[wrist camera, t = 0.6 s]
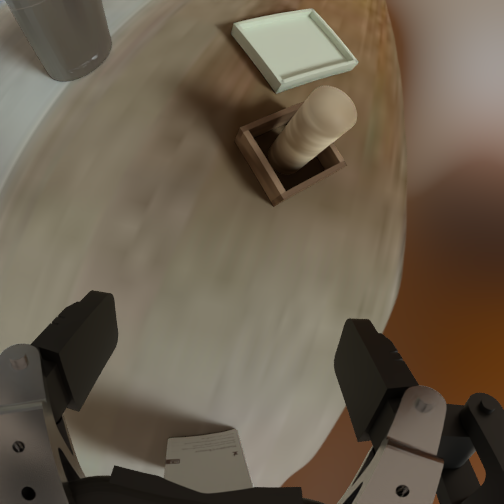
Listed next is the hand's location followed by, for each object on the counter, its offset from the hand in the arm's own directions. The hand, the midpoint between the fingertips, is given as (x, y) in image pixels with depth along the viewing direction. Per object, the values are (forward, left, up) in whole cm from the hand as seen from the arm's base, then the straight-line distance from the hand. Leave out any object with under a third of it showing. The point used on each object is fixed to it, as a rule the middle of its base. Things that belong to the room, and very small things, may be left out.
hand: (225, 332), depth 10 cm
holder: (-7, +15, -20) cm, 26 cm away
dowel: (-7, +15, -20) cm, 26 cm away
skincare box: (+17, -10, -20) cm, 28 cm away
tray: (-20, +25, -20) cm, 38 cm away
